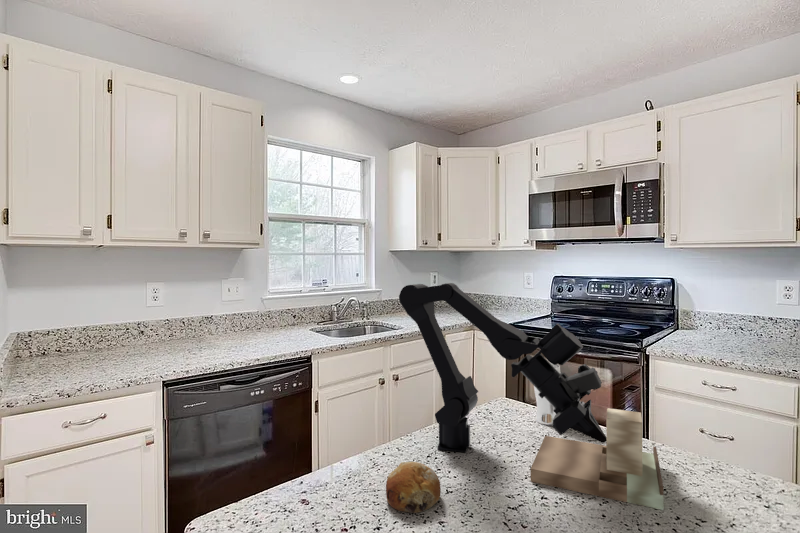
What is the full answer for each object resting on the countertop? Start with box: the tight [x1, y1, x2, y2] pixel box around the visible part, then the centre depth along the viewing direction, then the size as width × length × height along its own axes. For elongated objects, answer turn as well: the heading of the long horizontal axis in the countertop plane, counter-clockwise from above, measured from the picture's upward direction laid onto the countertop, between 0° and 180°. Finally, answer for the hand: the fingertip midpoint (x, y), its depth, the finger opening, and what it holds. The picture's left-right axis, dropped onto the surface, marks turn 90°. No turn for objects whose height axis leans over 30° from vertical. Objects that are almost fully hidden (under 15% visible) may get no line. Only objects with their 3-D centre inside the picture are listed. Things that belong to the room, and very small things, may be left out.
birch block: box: [605, 408, 643, 476], centre depth 85 cm, size 6×6×10 cm
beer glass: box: [533, 362, 562, 426], centre depth 116 cm, size 7×7×15 cm
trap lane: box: [530, 435, 665, 511], centre depth 87 cm, size 22×18×4 cm
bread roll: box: [385, 461, 441, 514], centre depth 79 cm, size 10×10×8 cm
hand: (605, 441), depth 86 cm, fingers closed
